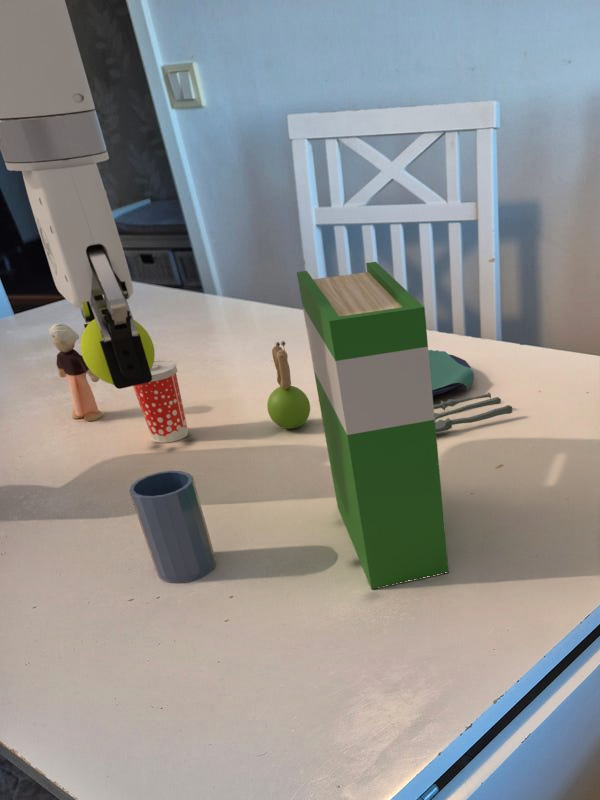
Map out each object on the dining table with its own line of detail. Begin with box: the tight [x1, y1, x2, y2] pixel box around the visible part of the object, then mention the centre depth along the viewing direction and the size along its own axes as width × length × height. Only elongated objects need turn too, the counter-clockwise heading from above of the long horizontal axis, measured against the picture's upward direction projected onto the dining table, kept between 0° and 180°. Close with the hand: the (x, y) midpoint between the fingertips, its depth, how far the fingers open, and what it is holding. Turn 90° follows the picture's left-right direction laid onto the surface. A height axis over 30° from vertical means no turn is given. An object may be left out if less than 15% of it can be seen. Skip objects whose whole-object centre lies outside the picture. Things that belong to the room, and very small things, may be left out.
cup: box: [128, 470, 217, 584], centre depth 79 cm, size 6×6×9 cm
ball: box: [80, 315, 156, 386], centre depth 74 cm, size 6×6×6 cm
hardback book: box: [296, 261, 450, 590], centre depth 78 cm, size 18×7×24 cm, turn 18°
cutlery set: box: [428, 349, 513, 434], centre depth 116 cm, size 20×30×2 cm, turn 25°
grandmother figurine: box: [48, 323, 104, 422], centre depth 114 cm, size 8×4×13 cm, turn 72°
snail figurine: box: [266, 340, 311, 430], centre depth 106 cm, size 5×6×12 cm
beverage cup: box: [132, 359, 189, 444], centre depth 106 cm, size 6×6×14 cm
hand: (124, 372), depth 75 cm, fingers closed on ball, 5 cm apart
